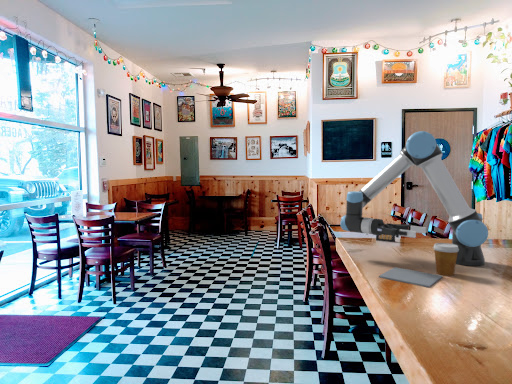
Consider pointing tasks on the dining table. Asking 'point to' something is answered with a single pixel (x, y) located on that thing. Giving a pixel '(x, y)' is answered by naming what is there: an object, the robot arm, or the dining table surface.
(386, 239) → the ammunition clip
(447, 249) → the disposable coffee cup
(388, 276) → the mat
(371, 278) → the dining table surface
